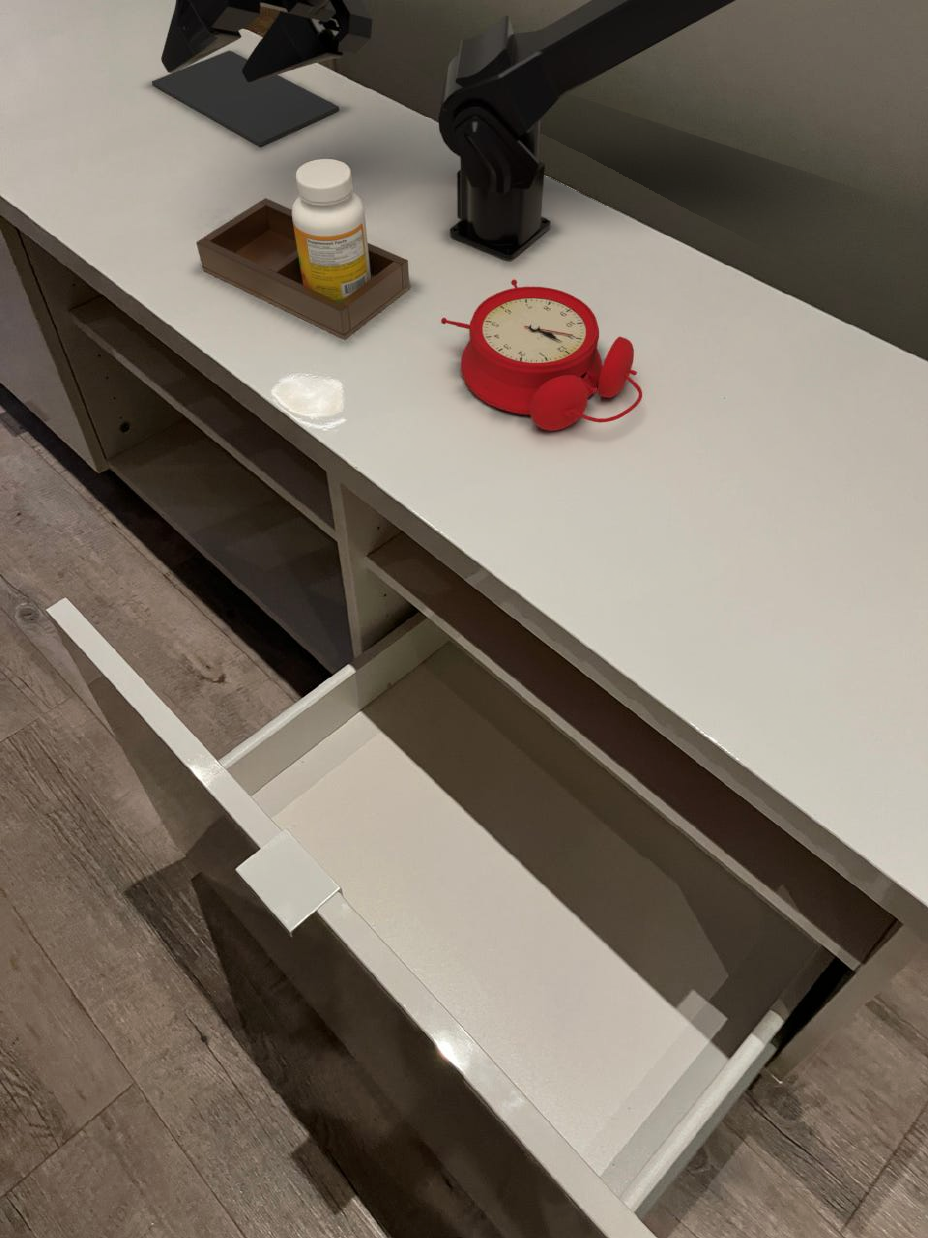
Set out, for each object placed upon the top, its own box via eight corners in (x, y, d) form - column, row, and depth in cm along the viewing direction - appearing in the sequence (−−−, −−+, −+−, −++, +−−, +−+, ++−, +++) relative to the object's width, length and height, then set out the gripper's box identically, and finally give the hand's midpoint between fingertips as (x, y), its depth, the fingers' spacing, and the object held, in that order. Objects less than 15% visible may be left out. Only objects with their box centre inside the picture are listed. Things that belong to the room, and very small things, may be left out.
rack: (270, 226, 80) (265, 197, 78) (409, 288, 75) (408, 259, 73) (203, 270, 76) (195, 241, 74) (344, 339, 71) (340, 310, 69)
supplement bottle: (313, 268, 76) (295, 150, 68) (378, 273, 75) (367, 155, 67) (297, 308, 73) (276, 189, 65) (364, 314, 72) (351, 194, 64)
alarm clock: (524, 262, 70) (679, 311, 61) (532, 337, 75) (678, 393, 66) (420, 318, 66) (570, 380, 57) (435, 394, 71) (577, 463, 62)
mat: (339, 110, 92) (339, 106, 92) (260, 147, 88) (259, 142, 88) (230, 53, 100) (229, 49, 99) (152, 85, 95) (151, 81, 95)
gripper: (355, -165, 68) (228, -9, 77) (183, -261, 53) (50, -53, 62) (433, -22, 69) (300, 115, 78) (287, -75, 54) (142, 102, 63)
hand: (207, 72), depth 70 cm, fingers open, 9 cm apart
